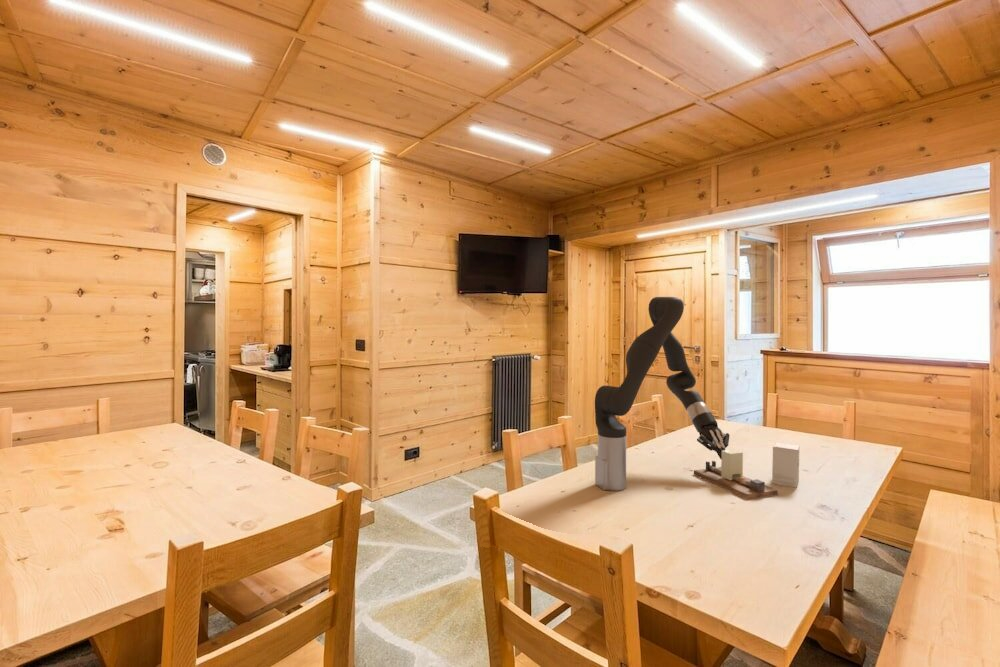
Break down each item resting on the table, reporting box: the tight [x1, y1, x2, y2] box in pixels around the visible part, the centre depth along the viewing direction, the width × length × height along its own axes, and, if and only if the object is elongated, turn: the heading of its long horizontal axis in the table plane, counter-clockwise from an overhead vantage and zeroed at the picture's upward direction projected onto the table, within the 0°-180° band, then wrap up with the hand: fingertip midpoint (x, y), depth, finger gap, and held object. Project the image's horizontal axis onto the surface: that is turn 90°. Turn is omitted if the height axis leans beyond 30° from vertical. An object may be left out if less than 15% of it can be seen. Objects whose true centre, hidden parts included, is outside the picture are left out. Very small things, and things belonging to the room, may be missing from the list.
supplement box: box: [771, 442, 800, 488], centre depth 157 cm, size 7×7×13 cm
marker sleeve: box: [720, 449, 744, 480], centre depth 156 cm, size 5×4×9 cm
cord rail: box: [693, 460, 779, 500], centre depth 156 cm, size 12×24×4 cm, turn 16°
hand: (726, 459), depth 159 cm, fingers closed
